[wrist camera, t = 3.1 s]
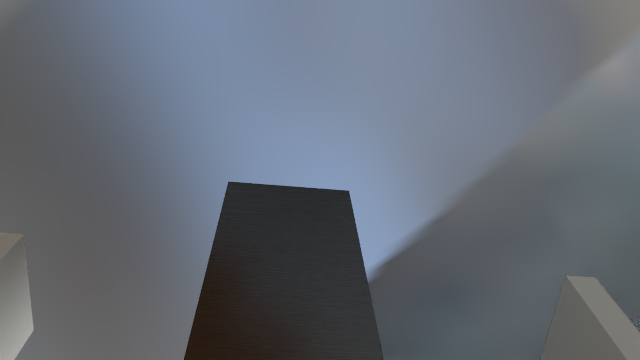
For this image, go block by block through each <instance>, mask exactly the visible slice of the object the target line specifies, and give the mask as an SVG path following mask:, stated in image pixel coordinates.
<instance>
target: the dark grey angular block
mask: <svg viewBox="0 0 640 360" xmlns="http://www.w3.org/2000/svg"><path fill="white" fill-rule="evenodd" d="M184 360H383V355H382V350H381V345H380V340H379V335H378V331H377V326H376V321H375V316H374V311H373V306H372V301H371V296H370V292H369V287H368V282H367V277H366V272H365V267H364V263H363V258H362V253H361V248H360V243H359V238H358V233H357V228H356V224H355V218H354V213H353V209H352V204H351V199H350V194H349V191H344V190H331V189H317V188H305V187H292V186H291V187H290V186H278V185H264V184H252V183H239V182H228V186H227V190H226V194H225V198H224V202H223V206H222V210H221V214H220V218H219V222H218V226H217V230H216V234H215V238H214V242H213V246H212V250H211V254H210V258H209V262H208V266H207V270H206V274H205V278H204V281H203V286H202V289H201V294H200V297H199V302H198V306H197V309H196V313H195V318H194V321H193V326H192V329H191V333H190V337H189V341H188V345H187V349H186V354H185V357H184Z"/></svg>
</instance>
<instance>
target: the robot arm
mask: <svg viewBox="0 0 640 360" xmlns="http://www.w3.org/2000/svg"><path fill="white" fill-rule="evenodd" d="M33 330H34V329H33V319H32V310H31V300H30V291H29V282H28V272H27V263H26V254H25V245H24V235H23V234H12V233H0V360H14V359H15V358H16V356H17V355H18V353H19V352H20V350H21V349H22V347H23V346H24V344H25V342H26V341H27V339H28V338H29V336H30V335H31V333H32V332H33ZM540 360H640V332H639V331H638V330H637V328H636V327H635V326H634V325H633V323H632V322H631V321H630V320H629V318H628V317H627V316H626V315H625V313H624V312H623V311H622V310H621V308H620V307H619V306H618V305H617V303H616V302H615V301H614V300H613V298H612V297H611V296H610V295H609V293H608V292H607V291H606V290H605V288H604V287H603V286H602V285H601V283H600V282H599V281H598V280H597V279H596V277H583V276H570V275H566V276H565V279H564V283H563V286H562V289H561V292H560V296H559V299H558V302H557V305H556V309H555V312H554V315H553V318H552V322H551V325H550V328H549V331H548V335H547V338H546V341H545V344H544V348H543V351H542V354H541V357H540Z"/></svg>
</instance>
